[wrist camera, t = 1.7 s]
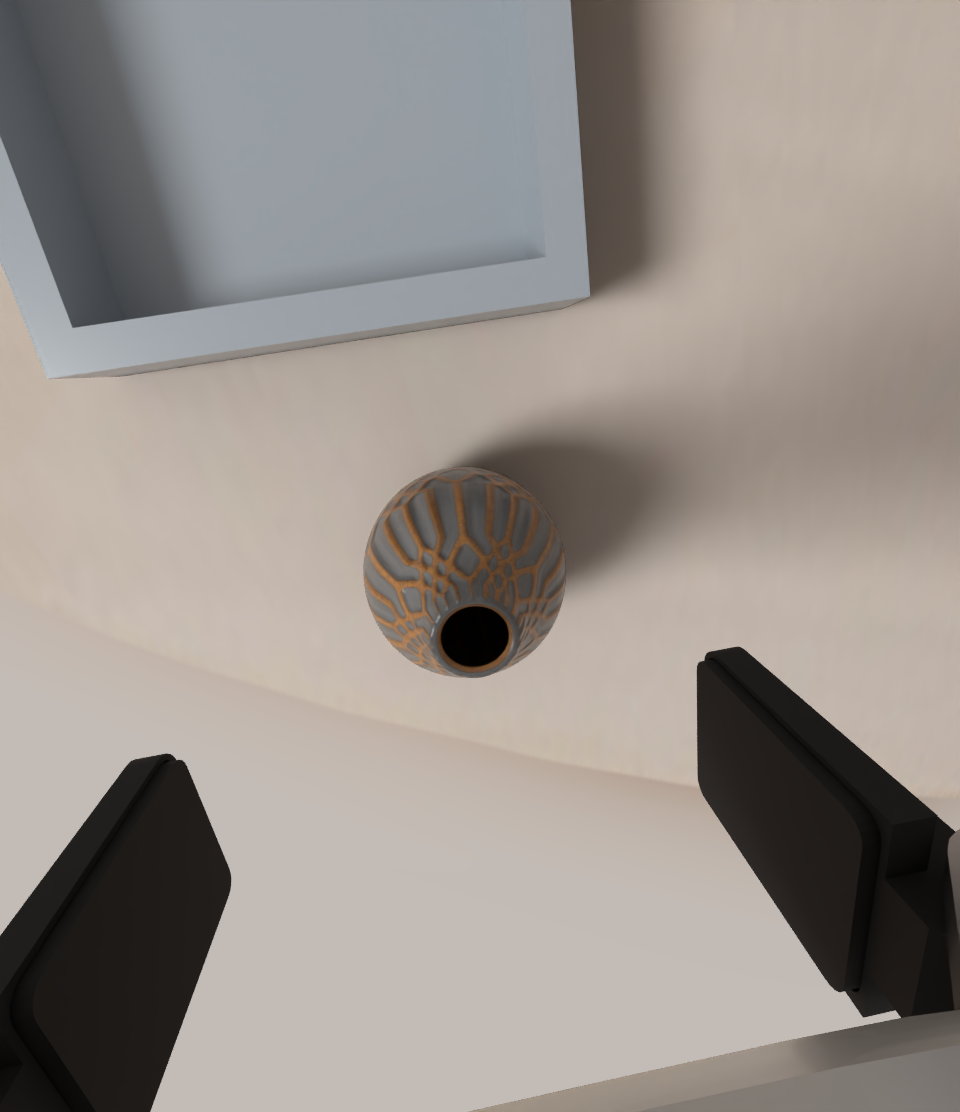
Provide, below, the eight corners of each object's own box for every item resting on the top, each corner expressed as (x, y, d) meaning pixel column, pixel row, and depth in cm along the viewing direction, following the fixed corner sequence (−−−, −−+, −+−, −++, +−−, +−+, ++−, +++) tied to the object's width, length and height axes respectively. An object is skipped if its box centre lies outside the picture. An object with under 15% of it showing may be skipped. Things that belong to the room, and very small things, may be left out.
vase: (573, 555, 23) (651, 662, 15) (441, 641, 24) (444, 788, 15) (482, 418, 21) (513, 452, 12) (340, 518, 21) (281, 614, 13)
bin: (505, -357, 14) (529, -604, 10) (561, 309, 19) (590, 296, 16) (-116, -282, 14) (-313, -514, 10) (120, 376, 19) (47, 378, 15)
